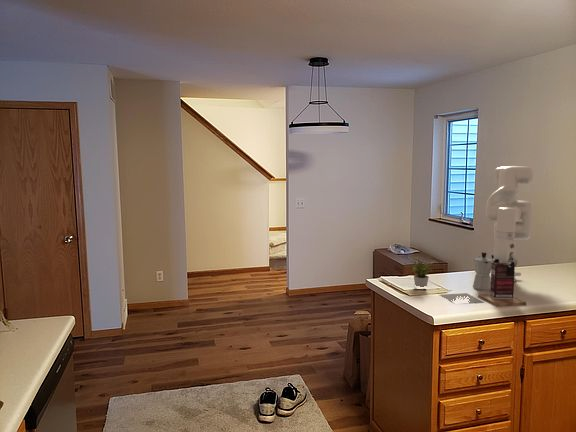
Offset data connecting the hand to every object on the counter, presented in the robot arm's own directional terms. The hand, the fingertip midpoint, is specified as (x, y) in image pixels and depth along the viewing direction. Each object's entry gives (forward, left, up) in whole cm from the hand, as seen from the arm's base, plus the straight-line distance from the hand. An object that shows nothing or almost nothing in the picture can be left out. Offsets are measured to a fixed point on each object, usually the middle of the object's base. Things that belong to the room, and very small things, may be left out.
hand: (502, 273), depth 195 cm
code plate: (+16, -6, -13) cm, 21 cm away
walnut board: (0, 0, -13) cm, 13 cm away
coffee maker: (-4, -21, -13) cm, 25 cm away
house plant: (+28, -25, -13) cm, 40 cm away
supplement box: (0, 0, -12) cm, 12 cm away
